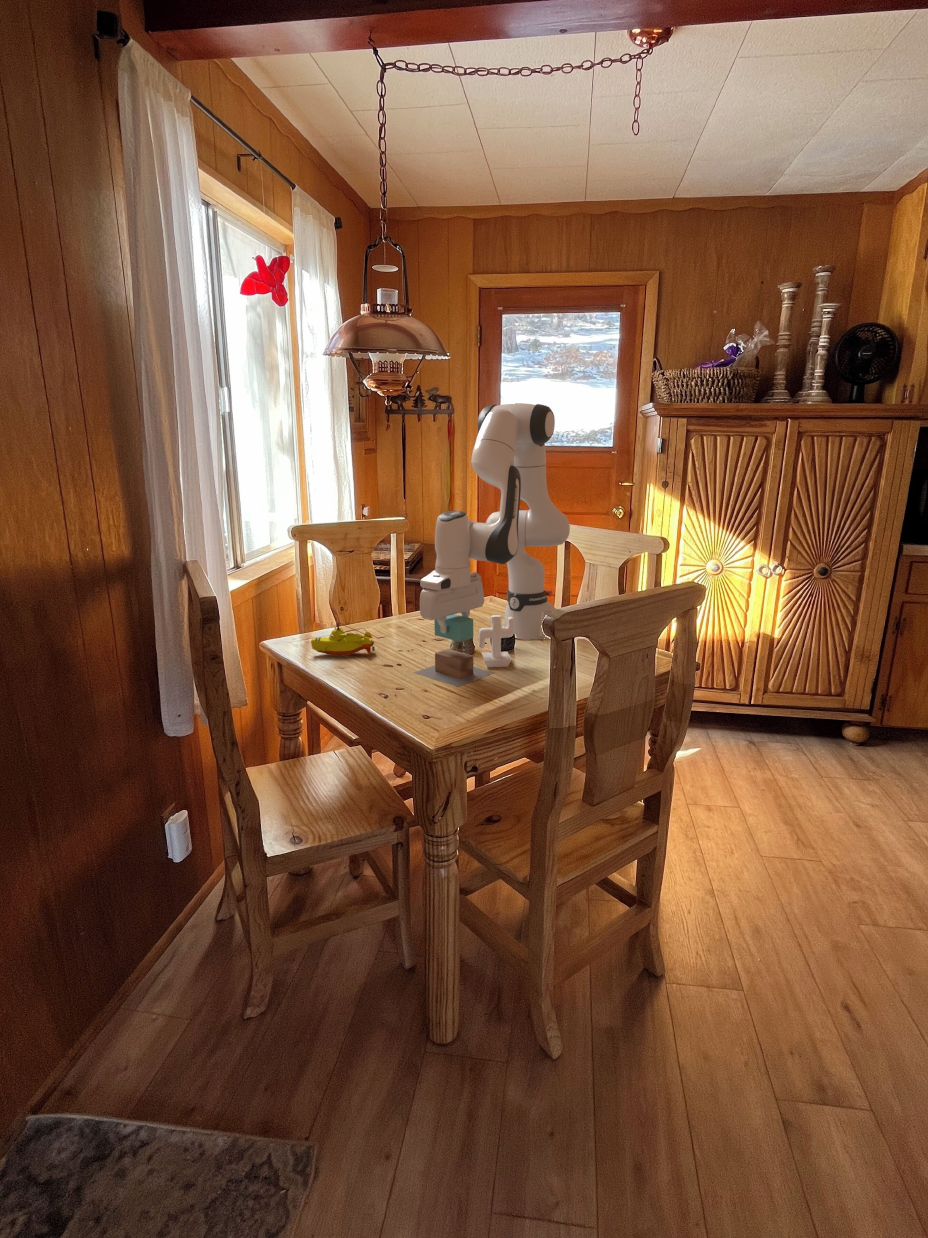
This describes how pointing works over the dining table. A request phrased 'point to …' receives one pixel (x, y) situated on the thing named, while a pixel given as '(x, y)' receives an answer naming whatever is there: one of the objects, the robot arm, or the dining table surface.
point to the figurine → (496, 641)
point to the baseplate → (454, 681)
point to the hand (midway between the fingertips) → (453, 630)
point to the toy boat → (343, 642)
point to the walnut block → (454, 663)
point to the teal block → (456, 628)
